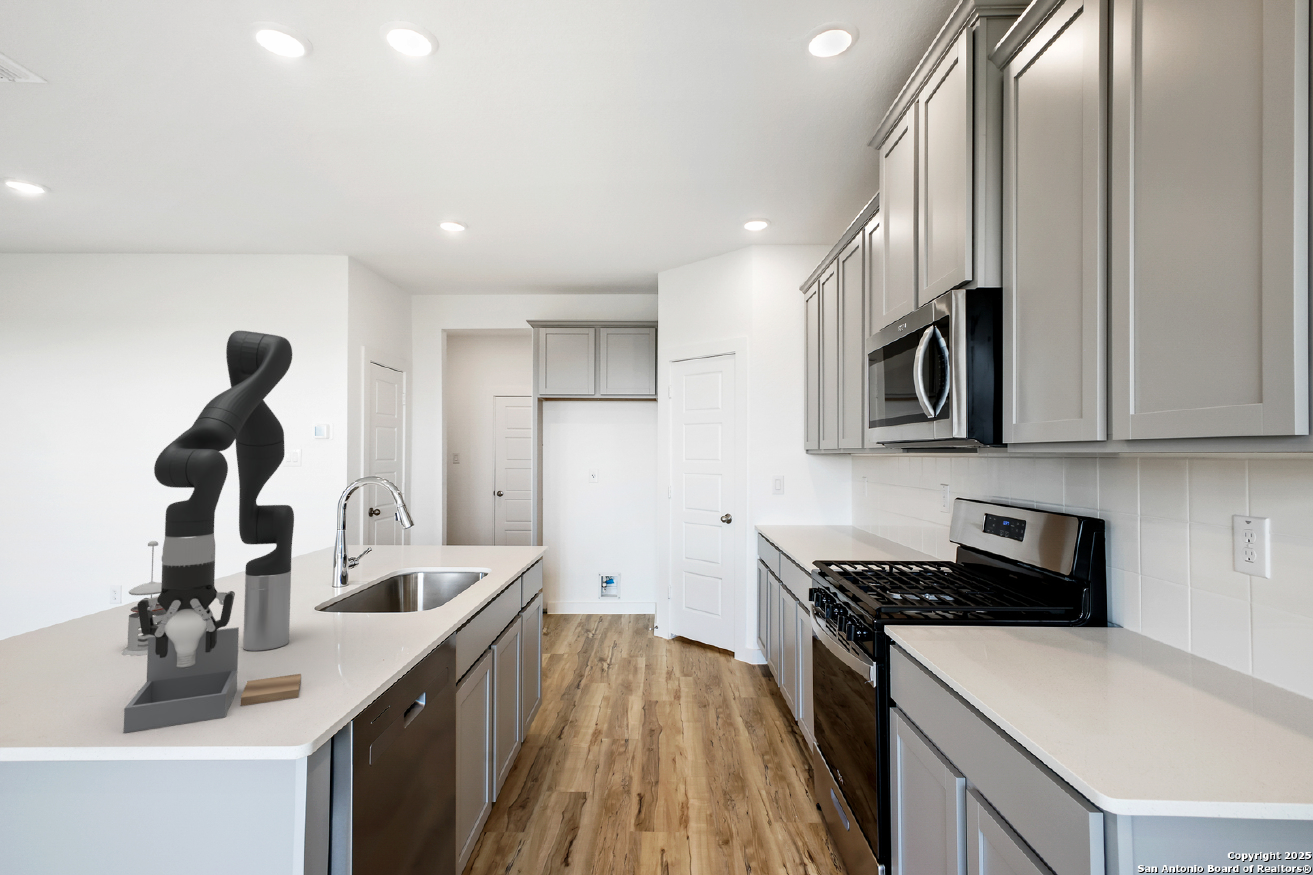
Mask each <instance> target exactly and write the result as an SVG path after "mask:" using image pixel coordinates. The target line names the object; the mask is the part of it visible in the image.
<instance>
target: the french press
mask: <svg viewBox="0 0 1313 875" xmlns="http://www.w3.org/2000/svg"><path fill="white" fill-rule="evenodd" d="M157 546H159V542H158V541H157V540H150V541H149V542H148V543H147V547H152V550H151V551H152V552H151V554H152V555H151V558H152V559H151V581H150V582H147V583H142V584H139V585H137V586H135V587H132V588H131V589H129V591H128V594H129V595H131V596H150V598H153V595H160V593H161V585H162V582H156V581H153V578H154V576H153V575H154V574H153V572H154V552H155V551H154V547H157ZM130 612H132V613H130V614H129V615H128V624H127V625H128V626H127V627H128V628H127V647H126V648H124V649H123V650H122V651H123V652H121V655H123V656H126V655H140V656H145V655H147V656H148V637H149V636H153V635H149V634H147V635H144V634H142V631H141V625H140V619H139V612H138V606H137V605H136V606H134V607H131V608H130ZM166 613H167V612H166V611H165V610H164V609H163V608H162V607H161V606H160V604H159V603H157V604H156V607H155V608H154V609H153V610H152V615H153V621H154V626H159V625H160V623H161V621H162V620H163V618H164V616H165V615H166ZM140 634H141V635H140Z"/></svg>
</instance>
